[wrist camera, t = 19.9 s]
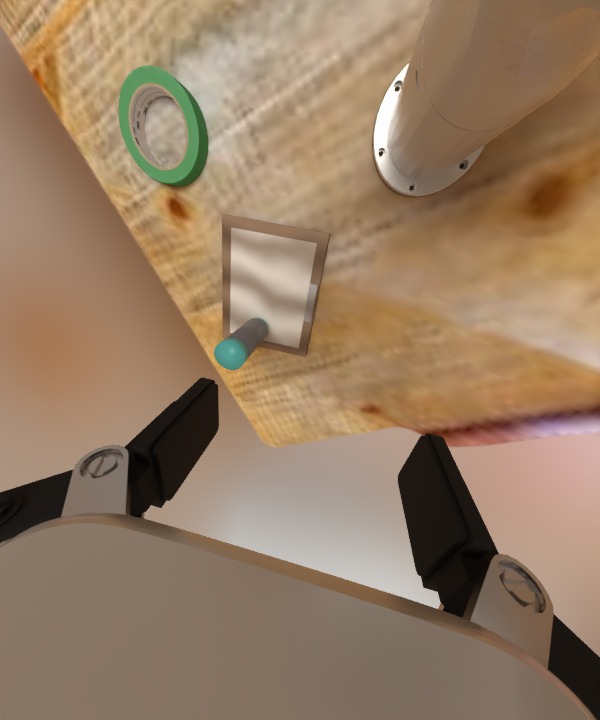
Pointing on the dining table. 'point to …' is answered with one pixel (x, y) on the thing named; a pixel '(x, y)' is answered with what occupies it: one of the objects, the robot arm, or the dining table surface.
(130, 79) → the tape roll
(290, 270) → the clipboard
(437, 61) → the robot arm
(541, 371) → the dining table surface
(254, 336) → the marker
